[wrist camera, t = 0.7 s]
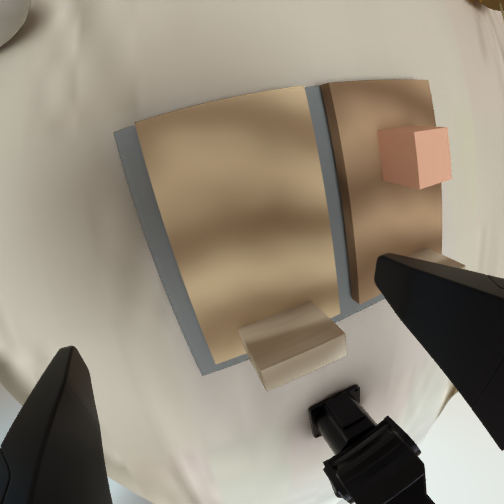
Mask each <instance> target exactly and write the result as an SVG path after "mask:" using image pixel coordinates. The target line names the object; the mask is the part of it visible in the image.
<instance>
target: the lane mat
mask: <svg viewBox="0 0 504 504" xmlns="http://www.w3.org/2000/svg"><path fill="white" fill-rule="evenodd" d="M304 88H305V92H306V97H307V101H308V106H309V110H310V115H311V119H312V124H313V129H314V134H315V139H316V144H317V149H318V155H319V160H320V165H321V171H322V177H323V183H324V189H325V195H326V201H327V207H328V214H329V221H330V228H331V235H332V242H333V250H334V258H335V266H336V275H337V284H338V294H339V304H340V314H339V315H336V316H334V317H332V318H330V319H331V320H332V321H333V322H334V323H335V322H337V321H340V320H342V319H344V318H346V317H348V316H350V315H352V314H354V313H356V312H358V311H361V310H363V309H365V308H367V307H369V306H371V305H373V304H375V303H377V302H379V301H381V300H383V299H384V298H385V297H384V296H383V295H382V294H380V295H378V296H376V297H374V298H372V299H370V300H368V301H366V302H364V303H362V304H360V305H359V304H358V303H357V302H355V301H354V300H353V299H352V293H351V280H350V269H349V258H348V248H347V239H346V231H345V223H344V215H343V207H342V200H341V193H340V186H339V180H338V174H337V167H336V161H335V156H334V150H333V144H332V139H331V134H330V129H329V124H328V119H327V114H326V109H325V104H324V100H323V95H322V91H321V86H313V87H304ZM114 136H115V140H116V144H117V147H118V151H119V154H120V158H121V162H122V165H123V169H124V172H125V175H126V179H127V182H128V185H129V189H130V192H131V195H132V198H133V201H134V204H135V208H136V211H137V214H138V217H139V220H140V223H141V226H142V229H143V231H144V234H145V237H146V240H147V243H148V246H149V249H150V251H151V254H152V257H153V260H154V262H155V265H156V268H157V270H158V273H159V276H160V278H161V281H162V283H163V286H164V288H165V291H166V294H167V296H168V299H169V301H170V303H171V306H172V308H173V311H174V313H175V316H176V318H177V320H178V323H179V325H180V327H181V330H182V332H183V334H184V337H185V339H186V341H187V344H188V346H189V348H190V350H191V353H192V355H193V357H194V359H195V361H196V364H197V366H198V368H199V370H200V372H201V374H202V376H204V375H207V374H209V373H212V372H215V371H218V370H221V369H224V368H226V367H229V366H232V365H235V364H237V363H240V362H243V361H245V360H248V359H249V357H248V355H247V353H246V354H243V355H240V356H238V357H235V358H232V359H230V360H227V361H224V362H221V363H219V364H215V361H214V359H213V357H212V354H211V352H210V349H209V347H208V344H207V342H206V339H205V337H204V334H203V332H202V329H201V327H200V324H199V321H198V319H197V316H196V314H195V311H194V308H193V306H192V303H191V300H190V298H189V295H188V292H187V290H186V287H185V284H184V281H183V279H182V276H181V273H180V270H179V267H178V264H177V261H176V259H175V256H174V253H173V250H172V247H171V244H170V241H169V238H168V235H167V232H166V229H165V226H164V223H163V220H162V216H161V213H160V210H159V207H158V204H157V200H156V197H155V194H154V191H153V187H152V184H151V180H150V177H149V174H148V170H147V167H146V163H145V160H144V156H143V152H142V149H141V145H140V141H139V138H138V134H137V130H136V126H135V125H134V126H131V127H128V128H125V129H122V130H119V131H116V132H114Z"/></svg>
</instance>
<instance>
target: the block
mask: <svg viewBox="0 0 504 504" xmlns="http://www.w3.org/2000/svg"><path fill="white" fill-rule="evenodd" d="M377 136H378V142H379V149H380V156H381V163H382V171H383V180H384V181H385V182H390V183H394V184H399V185H403V186H407V187H412V188H416V189H423V188H426V187H429V186H432V185H435V184H438V183H441V182H444V181H447V180H450V179H452V175H451V160H450V148H449V138H448V129H447V127H429V126H406V127H399V128H392V129H386V130H379V131H377Z"/></svg>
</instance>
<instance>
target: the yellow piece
mask: <svg viewBox="0 0 504 504" xmlns="http://www.w3.org/2000/svg"><path fill="white" fill-rule="evenodd" d="M479 1H480V2H482V3H483V4H484V5H485V6H486V7H488V8H490V9H493V10H498V11H501V12H502V16H503V19H504V12H503V11H504V0H479Z"/></svg>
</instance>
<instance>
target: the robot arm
mask: <svg viewBox="0 0 504 504" xmlns="http://www.w3.org/2000/svg"><path fill="white" fill-rule="evenodd" d="M374 282H375V285H376V286H377V288H378V289H379V290H380V292H381V293H382V295H383V296H384V297H385V299H386V300H387V302H388V303H389V304H390V306H391V307H392V309H393V310H394V311H395V313H396V314H397V316H398V317H399V318H400V320H401V321H402V322H403V323H404V325H405V326H406V327H407V328H408V329H409V330H410V332H411V333H412V334H413V335H414V336H415V338H416V339H417V340H418V341H419V342H420V344H421V345H422V346H423V347H424V348H425V350H426V351H427V352H428V353H429V355H430V356H431V357H432V358H433V359H434V361H435V362H436V363H437V364H438V366H439V367H440V368H441V369H442V371H443V372H444V373H445V374H446V376H447V377H448V378H449V380H450V381H451V382H452V383H453V385H454V386H455V387H456V389H457V390H458V391H459V392H460V394H461V395H462V396H463V398H464V399H465V400H466V402H467V403H468V404H469V406H470V407H471V408H472V410H473V411H474V413H475V414H476V416H477V417H478V418H479V420H480V421H481V422H482V424H483V425H484V427H485V428H486V429H487V431H488V432H489V434H490V435H491V437H492V438H493V439H494V441H495V442H496V444H497V445H498V447H499V448H500V449H501V450H504V279H503V278H498V277H494V276H490V275H485V274H481V273H477V272H473V271H469V270H465V269H460V268H456V267H452V266H447V265H443V264H439V263H434V262H430V261H425V260H421V259H416V258H412V257H407V256H403V255H398V254H393V253H386V254H383V255H380V256H379V257H378V258H377V261H376V268H375V274H374ZM309 415H310V421H311V427H312V432H313V436H314V437H315V438H317V437H320V436H323V437H324V439H325V440H326V442H327V443H328V445H329V446H330V448H331V449H332V451H333V452H334V454H335V456H333V457H332V458H330V459H329V460H326V461H324V462H323V463H324V465H325V468H324V469H323V470H324V472H325V473H326V475H327V476H328V478H329V480H330V482H331V485H332V488H333V490H334V493H335V495H336V496H337V497H338V498H343V499H345V500H346V501H347V502H349V503H350V504H352V503H354V502H355V503H356V504H435V503H434V502H433V501H432V500H431V498H430V497H429V496H428V495H427V494H426V479H425V467H424V463H423V462H422V461H421V460H420V459H419V457H418V455H420V454H421V451H420V450H419V448H418V446H417V445H416V444H415V442H414V441H413V440H412V439H411V438H410V437H409V436H408V434H407V433H405V432H404V431H403V430H402V429H401V428H400V427H399V426H398V425H397V424H396V423H395V422H394V421H393V420H392V419H391V418H390V417H389V416H386V417H385V418H384V420H383V421H381V422H380V423H379V424H378V425H377V424H376V423H375V421H374V420H373V419H372V418H371V417H370V416H369V414H368V413H367V412H366V411H365V410H364V408H363V407H362V406H361V405H360V387H359V386H358V385H354V386H352V387H351V388H349V389H347V390H345V391H343V392H341V393H339V394H337V395H335V396H333V397H331V398H329V399H327V400H325V401H323V402H321V403H319V404H317V405H315V406H312V407H311V408H310V409H309ZM0 504H113V503H112V498H111V494H110V489H109V484H108V478H107V473H106V467H105V460H104V454H103V447H102V439H101V431H100V425H99V420H98V415H97V410H96V405H95V400H94V395H93V390H92V384H91V378H90V373H89V370H88V368H87V366H86V364H85V362H84V361H83V359H82V357H81V355H80V354H79V352H78V350H77V349H76V347H74V346H68V347H64V348H61V349H59V351H58V352H57V353H56V355H55V356H54V358H53V359H52V361H51V362H50V364H49V365H48V367H47V368H46V370H45V372H44V373H43V375H42V376H41V378H40V379H39V381H38V382H37V384H36V386H35V387H34V389H33V390H32V392H31V394H30V395H29V397H28V398H27V400H26V402H25V403H24V405H23V407H22V409H21V410H20V412H19V414H18V415H17V417H16V419H15V421H14V422H13V424H12V426H11V428H10V429H9V431H8V433H7V435H6V437H5V438H4V440H3V442H2V444H1V448H0Z"/></svg>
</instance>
